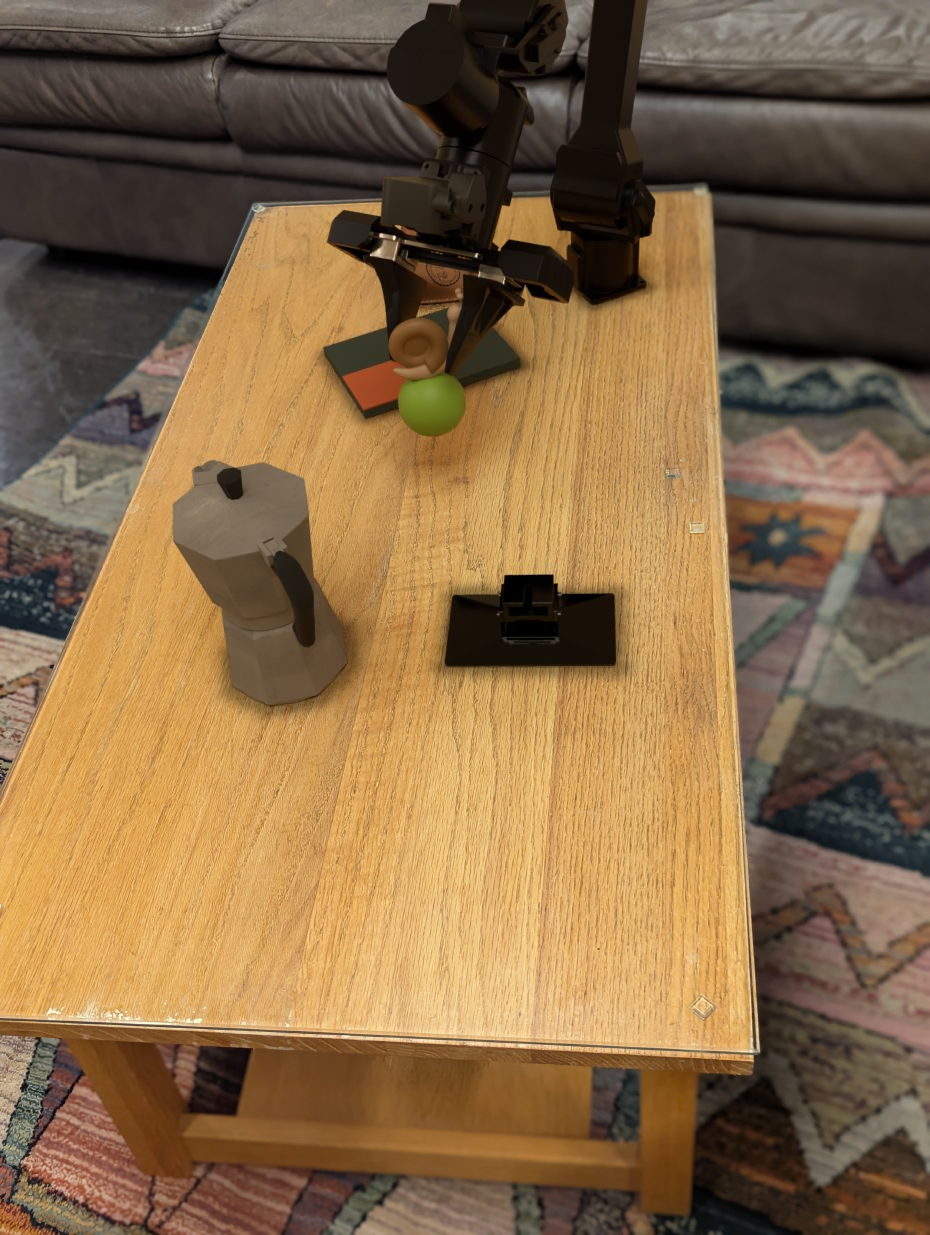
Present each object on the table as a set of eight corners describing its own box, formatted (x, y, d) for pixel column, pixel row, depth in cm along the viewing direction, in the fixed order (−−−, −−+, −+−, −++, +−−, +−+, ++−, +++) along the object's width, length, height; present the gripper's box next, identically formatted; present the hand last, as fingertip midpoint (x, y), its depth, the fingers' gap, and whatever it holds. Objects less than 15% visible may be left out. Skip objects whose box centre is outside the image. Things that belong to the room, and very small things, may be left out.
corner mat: (470, 309, 111) (469, 299, 110) (520, 366, 103) (520, 356, 102) (324, 355, 108) (322, 345, 107) (365, 419, 100) (363, 408, 99)
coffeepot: (196, 635, 83) (120, 451, 70) (304, 581, 86) (250, 395, 73) (285, 768, 74) (217, 585, 61) (402, 702, 77) (362, 514, 64)
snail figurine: (487, 439, 86) (469, 309, 78) (409, 456, 86) (382, 327, 77) (475, 400, 90) (456, 271, 81) (399, 416, 90) (373, 289, 81)
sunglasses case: (478, 295, 112) (439, 247, 108) (424, 330, 115) (385, 284, 111) (477, 212, 124) (442, 166, 120) (429, 246, 127) (393, 201, 123)
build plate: (444, 668, 79) (436, 625, 75) (453, 596, 84) (446, 553, 80) (616, 667, 77) (616, 623, 74) (614, 593, 82) (614, 549, 79)
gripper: (314, 103, 77) (262, 320, 79) (551, 135, 70) (488, 373, 72) (387, 161, 87) (340, 352, 89) (601, 194, 80) (544, 401, 82)
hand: (420, 368), depth 83 cm, fingers closed on snail figurine, 4 cm apart
